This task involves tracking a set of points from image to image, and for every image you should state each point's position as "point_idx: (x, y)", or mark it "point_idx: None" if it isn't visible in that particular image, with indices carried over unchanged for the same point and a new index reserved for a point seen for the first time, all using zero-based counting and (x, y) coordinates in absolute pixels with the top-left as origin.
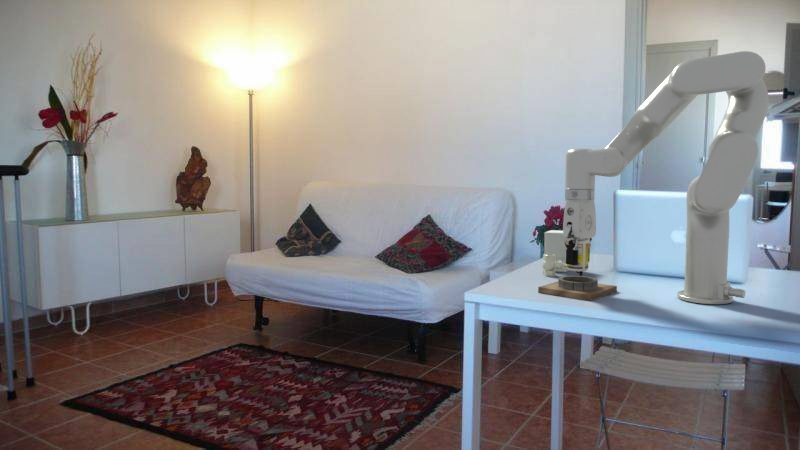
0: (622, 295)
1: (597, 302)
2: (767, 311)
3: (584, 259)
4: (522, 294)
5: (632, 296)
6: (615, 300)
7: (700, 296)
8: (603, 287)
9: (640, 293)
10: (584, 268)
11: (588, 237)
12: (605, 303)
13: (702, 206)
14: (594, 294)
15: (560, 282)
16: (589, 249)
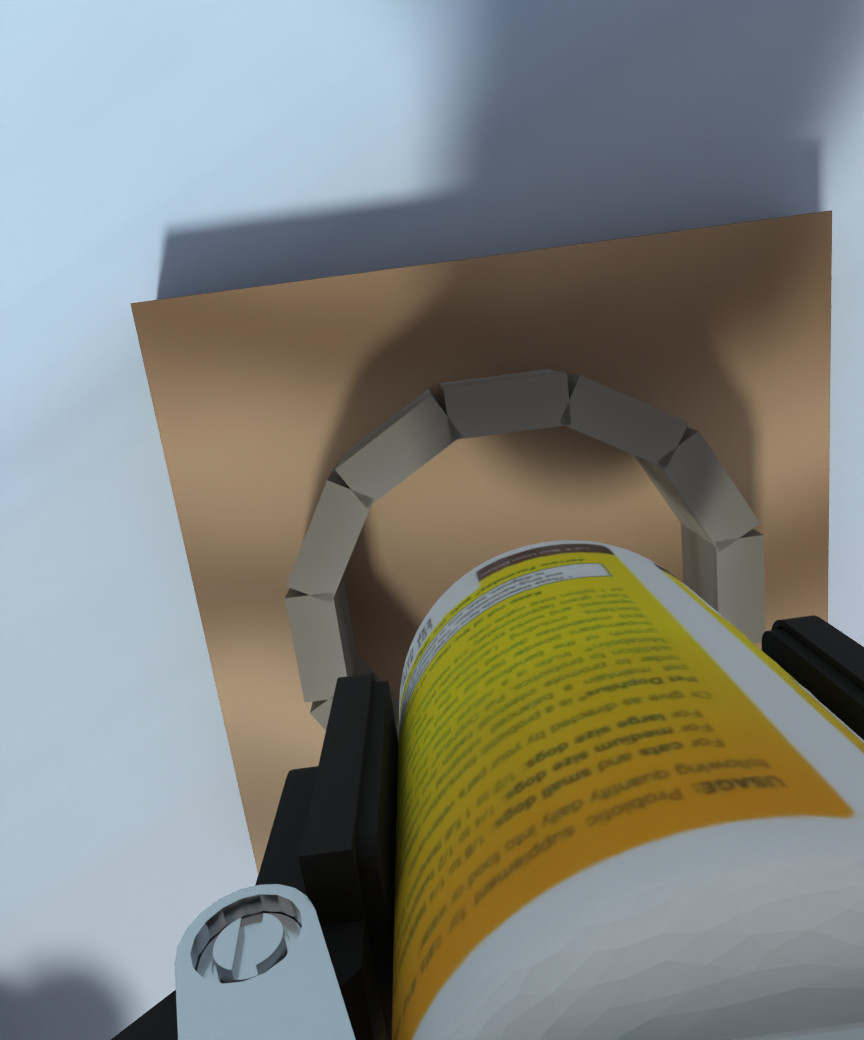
0: (279, 138)
1: (806, 125)
2: None
3: (677, 606)
4: None
5: (232, 17)
6: (576, 38)
7: None
8: (338, 362)
9: (3, 45)
10: (616, 551)
11: (852, 1026)
12: (793, 29)
13: None
14: (731, 224)
15: None
16: (314, 824)
